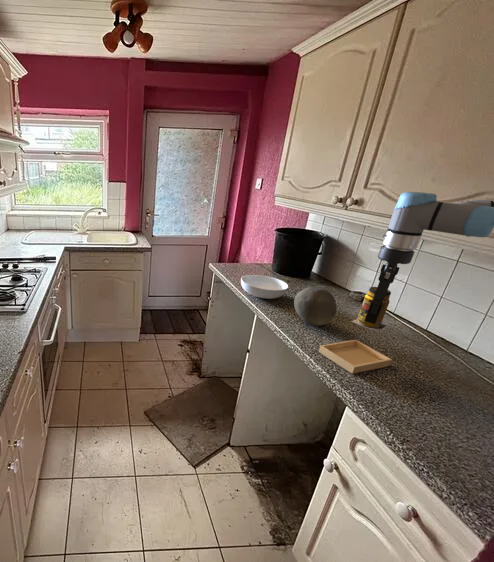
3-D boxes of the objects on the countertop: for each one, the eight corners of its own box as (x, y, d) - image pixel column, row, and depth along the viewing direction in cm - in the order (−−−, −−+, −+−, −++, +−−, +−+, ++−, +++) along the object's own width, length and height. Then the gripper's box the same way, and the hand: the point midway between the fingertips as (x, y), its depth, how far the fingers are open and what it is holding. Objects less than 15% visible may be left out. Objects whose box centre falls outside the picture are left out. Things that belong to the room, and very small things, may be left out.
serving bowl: (294, 304, 142) (297, 290, 140) (248, 303, 142) (251, 289, 139) (272, 287, 162) (275, 274, 159) (232, 286, 161) (234, 273, 158)
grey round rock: (319, 316, 132) (329, 283, 126) (337, 333, 119) (349, 297, 113) (284, 313, 133) (293, 281, 127) (299, 330, 120) (309, 295, 114)
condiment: (350, 322, 100) (362, 287, 95) (362, 315, 104) (373, 282, 100) (377, 332, 94) (391, 296, 90) (388, 325, 99) (402, 290, 94)
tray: (353, 345, 111) (355, 339, 110) (389, 365, 100) (392, 359, 99) (318, 351, 107) (320, 345, 106) (352, 373, 96) (354, 367, 95)
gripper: (385, 240, 98) (361, 305, 107) (377, 250, 85) (351, 324, 94) (416, 244, 94) (389, 313, 102) (414, 256, 81) (382, 334, 89)
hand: (371, 318), depth 98 cm, fingers closed on condiment, 6 cm apart
